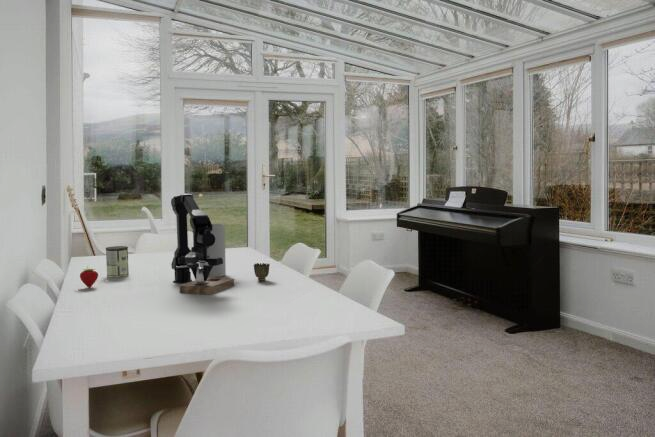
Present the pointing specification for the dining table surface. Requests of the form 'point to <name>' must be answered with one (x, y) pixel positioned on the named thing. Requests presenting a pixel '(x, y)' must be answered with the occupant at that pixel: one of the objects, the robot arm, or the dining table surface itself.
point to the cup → (261, 271)
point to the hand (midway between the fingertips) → (201, 280)
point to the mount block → (207, 286)
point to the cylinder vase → (217, 250)
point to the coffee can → (117, 261)
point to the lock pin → (200, 276)
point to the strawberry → (89, 277)
